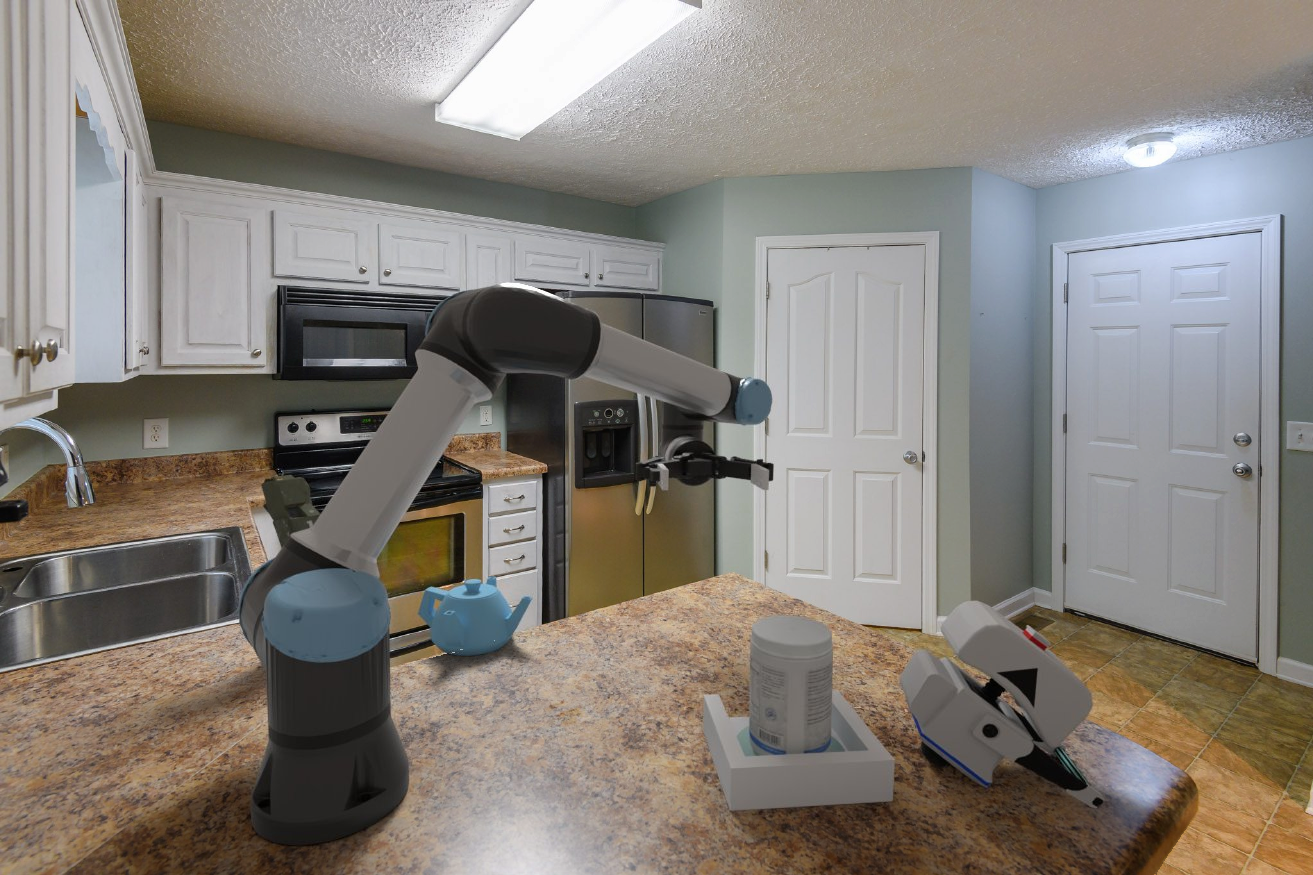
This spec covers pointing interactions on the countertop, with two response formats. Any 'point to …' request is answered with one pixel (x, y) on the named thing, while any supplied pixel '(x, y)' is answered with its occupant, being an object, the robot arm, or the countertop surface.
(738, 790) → the housing
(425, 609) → the teapot
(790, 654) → the supplement tub
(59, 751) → the countertop surface
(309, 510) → the mechanical leg
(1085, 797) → the robotic device
